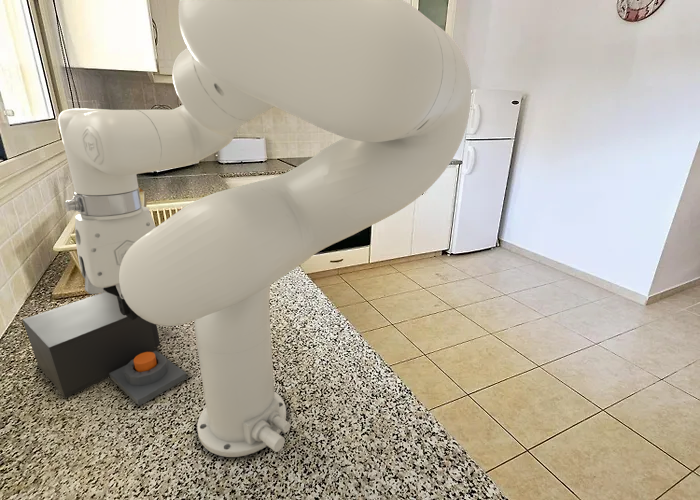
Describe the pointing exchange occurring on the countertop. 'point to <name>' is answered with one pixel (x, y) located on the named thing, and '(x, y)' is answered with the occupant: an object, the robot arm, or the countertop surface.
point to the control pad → (147, 379)
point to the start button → (145, 361)
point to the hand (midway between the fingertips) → (133, 315)
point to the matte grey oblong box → (86, 341)
